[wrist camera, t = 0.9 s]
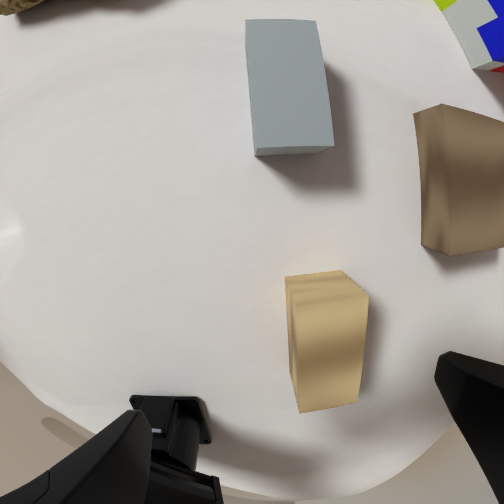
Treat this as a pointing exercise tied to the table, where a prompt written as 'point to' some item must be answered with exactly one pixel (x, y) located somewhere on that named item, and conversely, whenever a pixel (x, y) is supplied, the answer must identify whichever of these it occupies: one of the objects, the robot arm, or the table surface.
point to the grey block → (287, 87)
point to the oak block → (325, 338)
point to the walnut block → (460, 180)
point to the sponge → (16, 6)
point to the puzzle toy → (478, 30)
